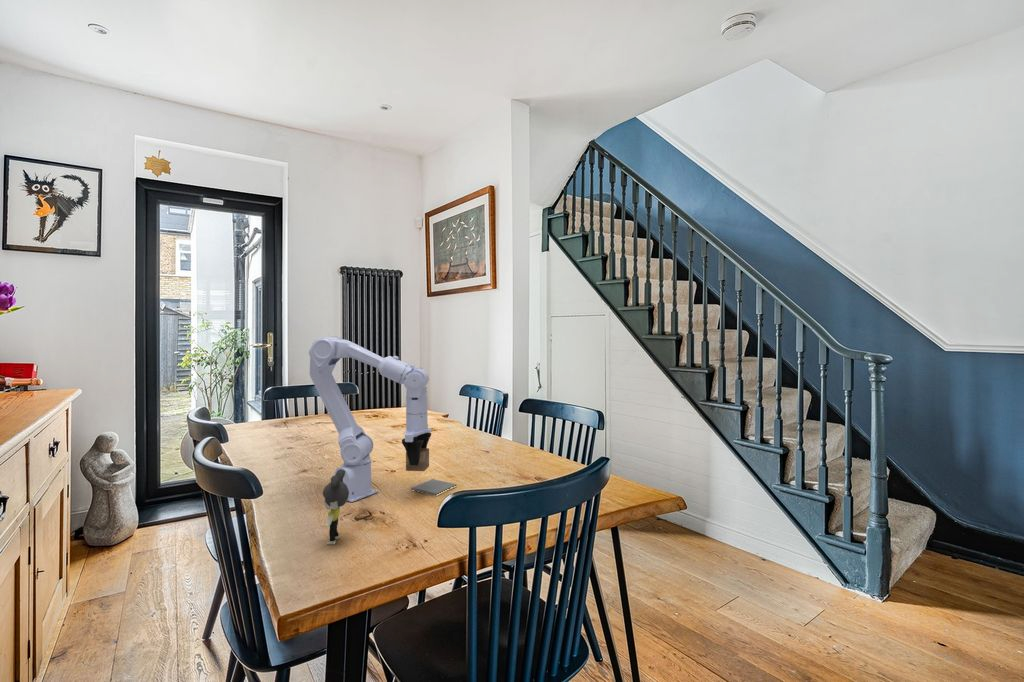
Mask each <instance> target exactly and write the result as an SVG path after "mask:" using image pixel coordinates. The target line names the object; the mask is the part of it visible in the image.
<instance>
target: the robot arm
mask: <svg viewBox="0 0 1024 682" xmlns="http://www.w3.org/2000/svg"><path fill="white" fill-rule="evenodd" d="M308 355H309V377H310V379H311V381H312V382H313V385H314V387H315V389H316V391H317V393H318V395H319V397H320V399H321V401H322V402H323V405H324V407H325V409H326V411H327V413H328V415H329V417H330V419H331V422H332V423H333V425H334V427H335V429H336V431H337V433H338V437H337V439H338V440H337V441H338V442H337V444H338V445H339V448H340V457H341V459H342V461H343V463H342V465H340V467H337V468H336V469H335V471H334V474H333V476H335V474H336V473H337V471H338V470H339V469H341V470H344V471H345V476H344V478H343V482H344V483H345V484H346V485H347V488H348V490H349V495H348V499H347V501H346V502H349V503H353V502H356V501H359V500H361V499H363V498H367V497H369V496H371V495H374V494H377V493H379V490H378V489H375V488H372V458H371V456H370V454H371V453H372V451H373V449H374V441H373V440H372V439H373V438H371V437H370V436H369V435H368V434H366V431H365V430H364V429H363V428H362V426H360V425H358V423H357V421H356V420H355V417H354V416H353V413H352V411H351V409H350V407H349V406H348V404H347V402H346V401H347V400H346V399H345V397H344V395H343V393H342V391H341V389H340V387H339V385H338V382H337V381H336V379H335V377H334V375H333V372H334V369H335V367H336V365H337V363H338V362H339V361H340V360H341V359H343V358H351V359H354V360H356V361H359V362H361V363H364V364H366V365H368V366H371V367H372V368H373V367H374V368H376V369H377V370H378V372H379V374H380V375H381V376H383V377H385V378H387V379H389V380H391V381H393V382H396V383H397V384H399V385H403V386H404V388H405V389H406V397H405V412H406V413H405V419H406V421H405V425H406V426H405V427H406V428H405V434H404V438H403V439H401V444H402V446H403V447H404V450H405V451H406V452H407V455H408V460H409V463H410V465H416V466H417V465H418V463H419V457H420V450H421V448H428V443H429V440H430V439H431V436H432V433H431V432H432V431H433V428H431V427H429V424H428V390H427V389H428V387H427V385H428V383H429V380H430V379H429V374H428V371H426V370H424V369H423V368H422V367H415V364H413V363H411V364H409V363H406V362H405V361H402V360H400V359H399V358H400V357H399V356H397V355H393V356H391V355H389V356H386V357H382V356H380V355H378V354H377V353H374V352H372V351H370V350H369V349H367V348H365V347H363V346H361V345H359V344H357V343H355V342H352V341H350V340H347V339H342V338H341V337H339V336H331V337H319V338H316V339H315V340H314V341H313V342H312V345H311V346H310V348H309V350H308ZM406 452H405V453H406Z"/></svg>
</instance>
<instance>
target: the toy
mask: <svg viewBox="0 0 1024 682" xmlns="http://www.w3.org/2000/svg"><path fill="white" fill-rule="evenodd" d="M344 476H345V471H344V470H341V469H339V470H338V471H337V473H336V474H335V476H334V475H332V476H331V478H330V482H329V483H328V484H326V485H325V487H324V488H323V490H322V496H323V497H324V500H323V502H322V503H323V504H324V507H325V509H326V510H329V512H328V514H327V516H328V517H327V520H326V522H325V524H324V527H325V528H328V527H329V532H328V534H329V541H327V542H326V545H336V544H335V543H336V540H339V538H340V534H339V532H338V524H339V516H340V515H339V513H340V512H341V507H343V506H345V504H346V503H347V502H348V501H347V499H348V495H349V490H348V488H347V485H346V484H345V483H344V482H343V478H344Z"/></svg>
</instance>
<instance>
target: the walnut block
mask: <svg viewBox="0 0 1024 682" xmlns="http://www.w3.org/2000/svg"><path fill="white" fill-rule="evenodd" d="M429 467H430V448H428V447H427V448H421V450H420V457H419V463H418V465H417V466H416V465H410V463H409V460H408V455H407V452H405V471H407V472H425V471H426V470H427V469H428V468H429Z"/></svg>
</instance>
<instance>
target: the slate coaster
mask: <svg viewBox="0 0 1024 682" xmlns="http://www.w3.org/2000/svg"><path fill="white" fill-rule="evenodd" d="M456 485H458V484H457V483H453V482H447V481H444V480H443V481H442V480H439V479H433V478H431V479H429V480H426V481H424V482H421V483H419V484H417V485H415V486H411V491H412V490H414V491H413V492H416V491H419V492H418V493H420V492H423V493H422V494H425V493H428V494H427V495H429V494H433V495H437V494H439V493H441V492H443V491H445V490H447V489H450V488H451V487H454V486H456ZM433 495H432V496H433Z"/></svg>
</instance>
